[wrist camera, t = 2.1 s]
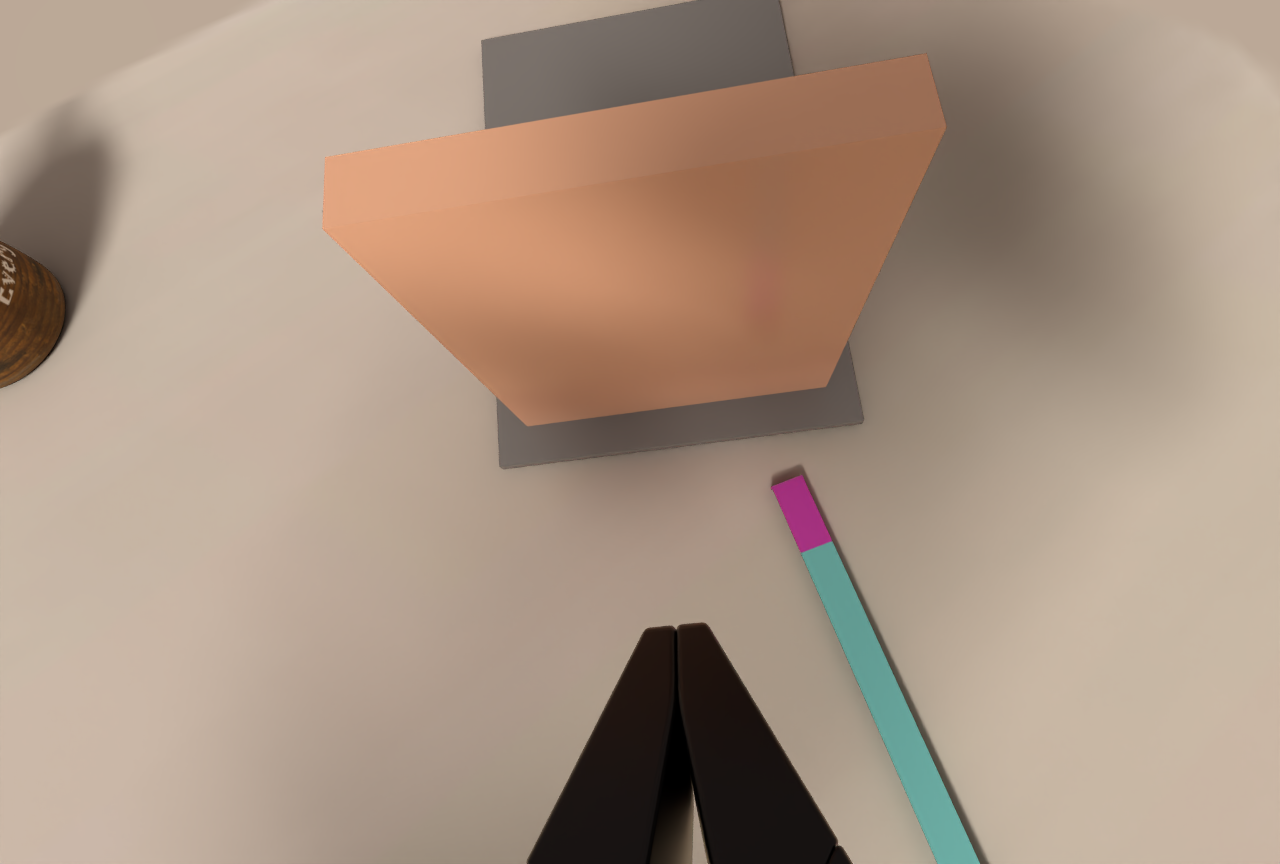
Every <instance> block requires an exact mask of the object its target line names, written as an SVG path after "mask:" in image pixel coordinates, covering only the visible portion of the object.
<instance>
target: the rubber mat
mask: <svg viewBox="0 0 1280 864" xmlns="http://www.w3.org/2000/svg"><path fill="white" fill-rule="evenodd" d="M481 44H482V67H483V91H484V114H485V130H486V129H491V128H497V127H503V126H509V125H514V124H520V123H526V122H532V121H538V120H543V119H549V118H555V117H561V116H567V115H572V114H578V113H584V112H590V111H595V110H601V109H607V108H613V107H619V106H624V105H630V104H636V103H642V102H648V101H653V100H659V99H665V98H671V97H676V96H682V95H688V94H694V93H700V92H705V91H711V90H717V89H723V88H729V87H734V86H740V85H746V84H752V83H757V82H763V81H769V80H775V79H781V78H786V77H792V76H794V73H793V68H792V63H791V58H790V53H789V48H788V43H787V38H786V33H785V28H784V24H783V19H782V14H781V9H780V4H779V0H696V1H691V2H686V3H680V4H675V5H669V6H664V7H659V8H653V9H648V10H642V11H637V12H632V13H626V14H621V15H615V16H610V17H605V18H599V19H594V20H588V21H583V22H577V23H572V24H567V25H561V26H556V27H550V28H545V29H540V30H534V31H529V32H523V33H518V34H513V35H507V36H502V37H496V38H491V39H486V40H481ZM497 420H498V444H499V467H501V468H502V469H508V468H516V467H524V466H532V465H539V464H547V463H555V462H563V461H571V460H579V459H587V458H595V457H603V456H610V455H618V454H626V453H634V452H642V451H650V450H658V449H666V448H674V447H681V446H689V445H697V444H705V443H713V442H721V441H729V440H737V439H744V438H752V437H760V436H768V435H776V434H784V433H792V432H800V431H808V430H815V429H823V428H831V427H839V426H847V425H855V424H862V422H863V421H864V417H863V412H862V408H861V403H860V398H859V393H858V388H857V383H856V378H855V373H854V368H853V363H852V358H851V353H850V348H849V344H848V341H847V343H846V345H845V347H844V349H843V352H842V354H841V356H840V358H839V360H838V362H837V364H836V367H835V369H834V371H833V373H832V375H831V377H830V380H829V382H828V384H827V386H826V387H822V388H814V389H807V390H799V391H792V392H784V393H777V394H769V395H762V396H754V397H746V398H739V399H731V400H724V401H716V402H709V403H701V404H693V405H686V406H678V407H671V408H663V409H656V410H648V411H640V412H633V413H625V414H618V415H610V416H603V417H595V418H587V419H580V420H572V421H565V422H557V423H550V424H542V425H534V426H526V425H525V424H524V423H523V422H522V421H521V420H520V419H519V418H518V417H517V416H516V415H515V414H514V413H513V412H512V411H511V410H510V409H509V408H508V407H507V406H506V405H505V404H503V403H502V402H501V401H500V400H499V399H498V398H497Z"/></svg>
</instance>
